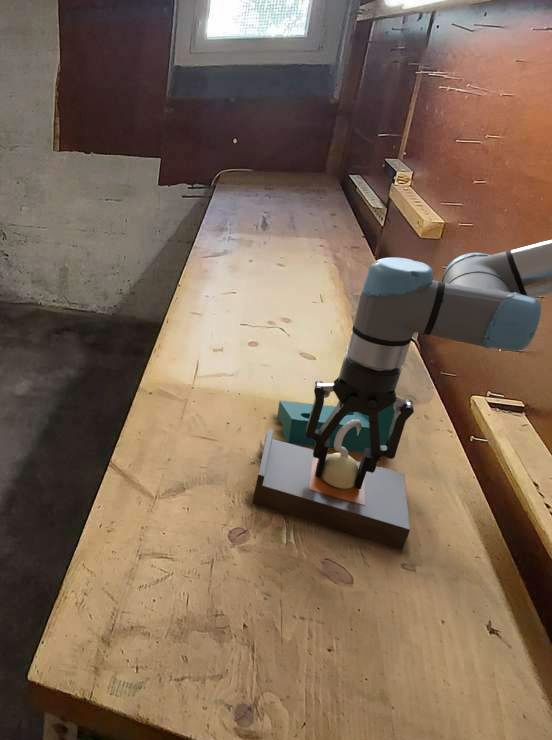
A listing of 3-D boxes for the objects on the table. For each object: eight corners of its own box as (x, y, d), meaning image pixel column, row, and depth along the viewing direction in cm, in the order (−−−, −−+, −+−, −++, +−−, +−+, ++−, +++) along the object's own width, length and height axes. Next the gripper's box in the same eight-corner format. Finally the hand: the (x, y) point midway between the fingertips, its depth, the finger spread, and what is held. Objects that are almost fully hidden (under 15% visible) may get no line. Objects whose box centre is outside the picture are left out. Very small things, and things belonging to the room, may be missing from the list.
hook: (333, 463, 98) (350, 407, 93) (362, 481, 94) (381, 423, 89) (310, 475, 96) (325, 417, 91) (338, 494, 92) (356, 435, 86)
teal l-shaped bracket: (370, 433, 115) (379, 385, 113) (392, 455, 105) (402, 403, 103) (276, 423, 119) (282, 376, 117) (288, 443, 109) (295, 392, 107)
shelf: (396, 493, 98) (407, 464, 95) (402, 550, 87) (414, 520, 84) (262, 456, 108) (268, 428, 105) (251, 503, 97) (258, 474, 94)
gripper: (443, 361, 83) (400, 481, 94) (307, 336, 91) (281, 449, 102) (450, 386, 78) (403, 511, 88) (304, 357, 86) (277, 474, 96)
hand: (338, 477), depth 95 cm, fingers closed on hook, 5 cm apart
